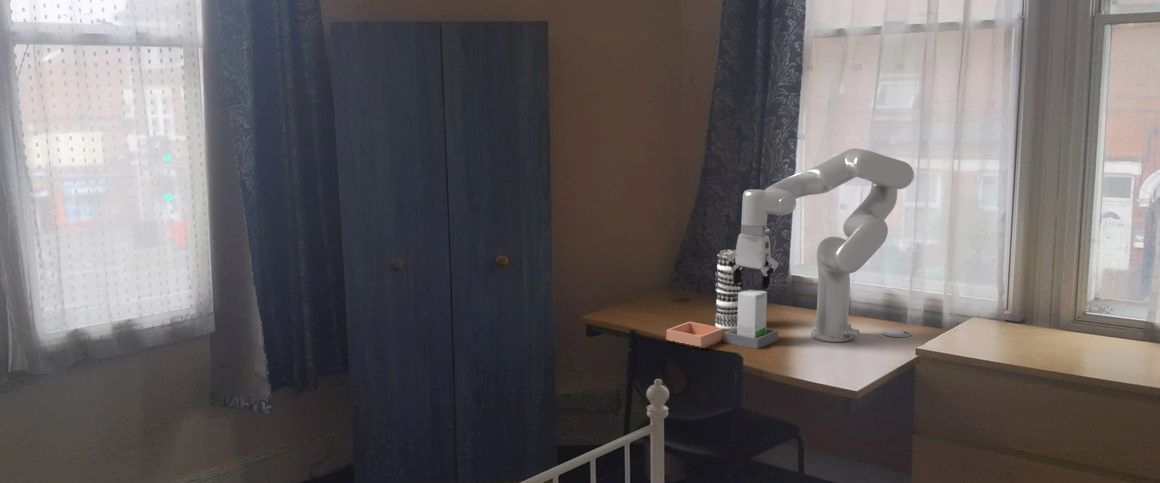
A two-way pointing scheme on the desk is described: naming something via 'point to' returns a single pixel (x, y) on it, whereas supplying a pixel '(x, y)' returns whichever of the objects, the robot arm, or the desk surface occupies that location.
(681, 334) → the terracotta bin
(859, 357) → the desk surface
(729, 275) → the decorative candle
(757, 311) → the skincare box
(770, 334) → the frame
